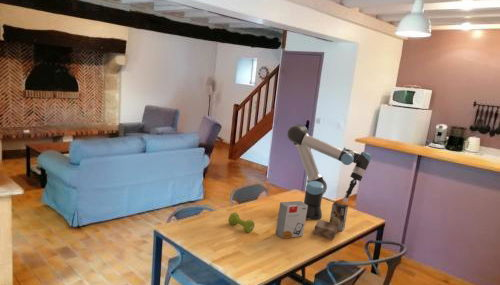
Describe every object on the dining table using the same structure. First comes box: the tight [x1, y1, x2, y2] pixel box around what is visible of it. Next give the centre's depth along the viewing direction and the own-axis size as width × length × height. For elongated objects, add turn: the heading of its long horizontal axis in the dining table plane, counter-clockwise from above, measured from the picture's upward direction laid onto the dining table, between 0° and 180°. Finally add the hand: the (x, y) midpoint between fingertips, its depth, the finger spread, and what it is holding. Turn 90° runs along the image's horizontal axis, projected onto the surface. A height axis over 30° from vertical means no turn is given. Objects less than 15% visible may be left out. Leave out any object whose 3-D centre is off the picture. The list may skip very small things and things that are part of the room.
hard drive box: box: [275, 200, 308, 239], centre depth 212 cm, size 16×8×20 cm, turn 117°
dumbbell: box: [228, 212, 255, 233], centre depth 215 cm, size 16×8×7 cm, turn 48°
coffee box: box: [329, 201, 349, 232], centre depth 230 cm, size 9×6×16 cm
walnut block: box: [313, 219, 338, 241], centre depth 220 cm, size 12×12×6 cm
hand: (344, 202), depth 243 cm, fingers open, 13 cm apart
